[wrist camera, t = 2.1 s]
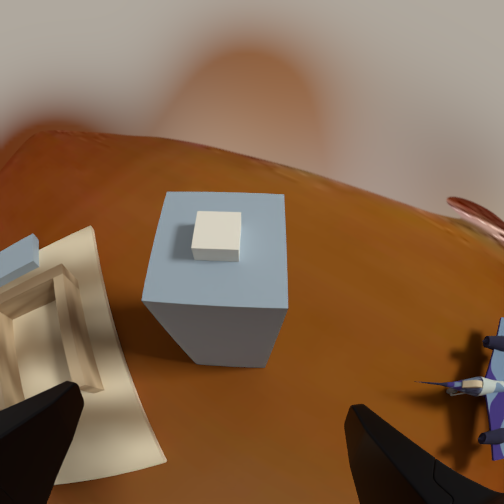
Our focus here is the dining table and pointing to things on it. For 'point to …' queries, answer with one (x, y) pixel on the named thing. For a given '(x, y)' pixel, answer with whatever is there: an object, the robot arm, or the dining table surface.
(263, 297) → the blue-grey rectangular block
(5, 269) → the light blue bar
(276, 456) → the dining table surface
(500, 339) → the toy airplane
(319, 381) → the dining table surface
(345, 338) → the dining table surface
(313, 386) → the dining table surface
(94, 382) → the jig
